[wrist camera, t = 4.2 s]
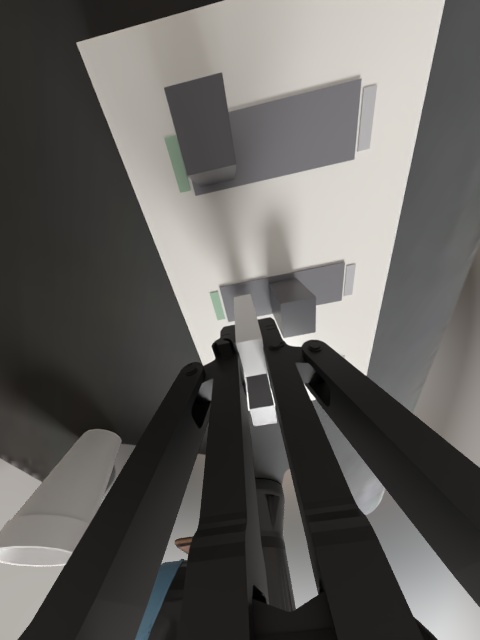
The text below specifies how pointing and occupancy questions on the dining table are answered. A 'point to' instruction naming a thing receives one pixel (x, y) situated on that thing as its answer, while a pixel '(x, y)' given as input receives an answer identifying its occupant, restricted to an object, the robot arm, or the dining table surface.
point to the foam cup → (61, 504)
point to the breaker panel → (276, 152)
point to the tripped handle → (293, 307)
